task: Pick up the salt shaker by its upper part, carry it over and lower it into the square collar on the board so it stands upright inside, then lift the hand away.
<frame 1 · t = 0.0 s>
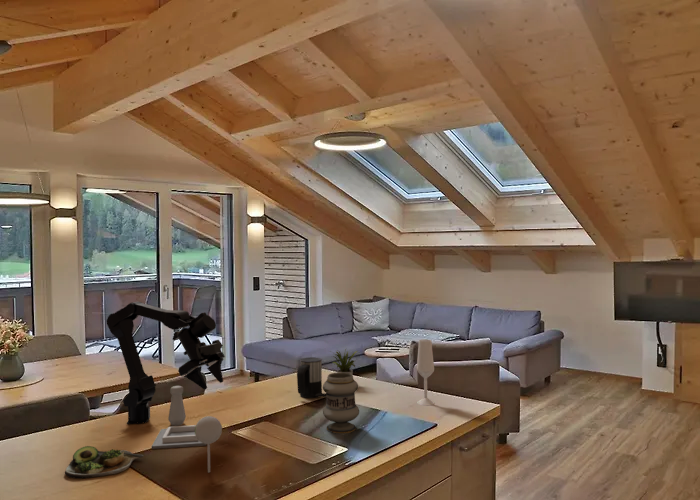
hand: (214, 385, 186), 15 cm above the kitchen island counter, tool tilted 35°, fingers open, 9 cm apart
socket board: (182, 438, 179), on the kitchen island counter
salad plate: (99, 467, 157), on the kitchen island counter
salt shaker: (177, 424, 193), on the kitchen island counter
house plant: (342, 385, 244), on the kitchen island counter
lollipop: (209, 472, 152), on the kitchen island counter
milk frother: (318, 397, 225), on the kitchen island counter
champagne flute: (425, 403, 215), on the kitchen island counter
apothecary jar: (341, 429, 186), on the kitchen island counter
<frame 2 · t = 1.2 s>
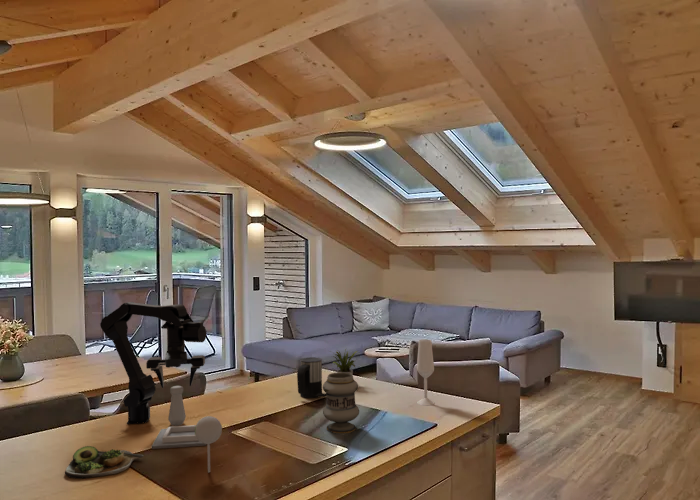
hand: (176, 386, 193), 13 cm above the kitchen island counter, tool pointing down, fingers open, 9 cm apart
nothing on the kitchen island counter moved.
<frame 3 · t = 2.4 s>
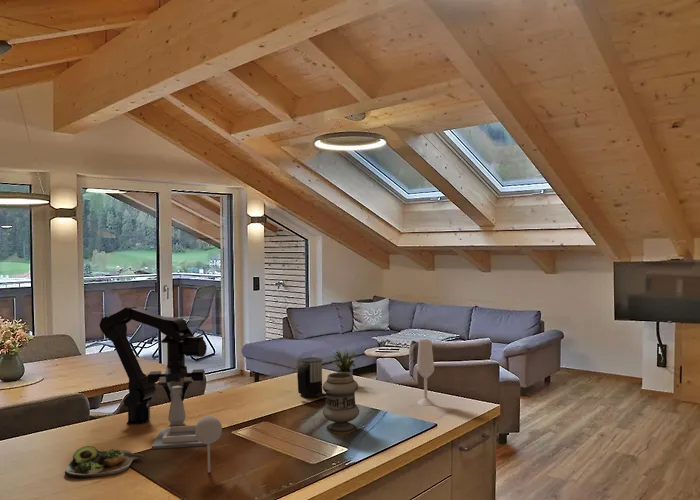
hand: (176, 401, 193), 8 cm above the kitchen island counter, tool pointing down, fingers closed on salt shaker, 4 cm apart
salt shaker: (177, 424, 193), on the kitchen island counter, touching gripper
everything else where it was.
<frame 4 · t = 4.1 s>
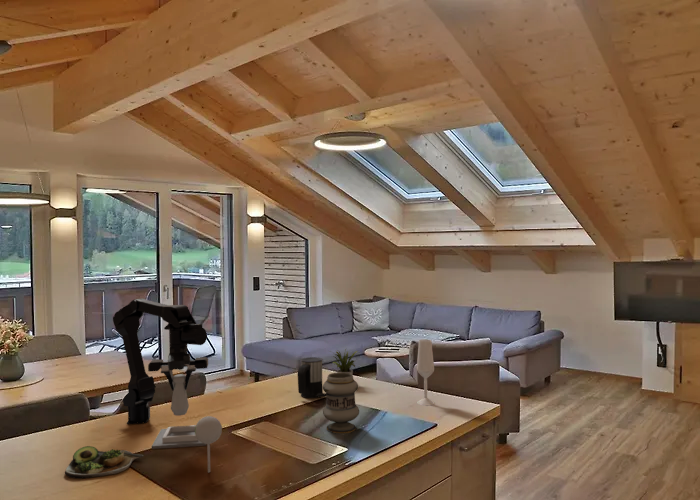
hand: (179, 389, 187), 13 cm above the kitchen island counter, tool pointing down, fingers closed on salt shaker, 4 cm apart
salt shaker: (180, 414, 187), point 5 cm above the kitchen island counter, touching gripper
everything else where it was.
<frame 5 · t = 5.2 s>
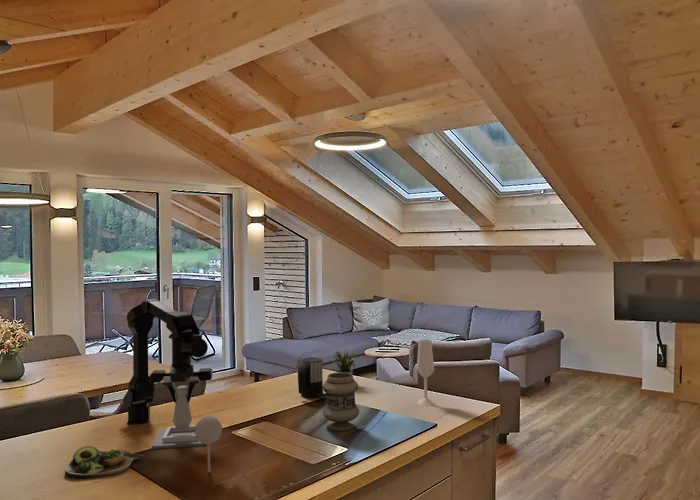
hand: (182, 402, 179), 11 cm above the kitchen island counter, tool pointing down, fingers closed on salt shaker, 4 cm apart
salt shaker: (182, 427, 179), point 3 cm above the kitchen island counter, touching gripper
everything else where it was.
when the fingers open (9 cm above the kitchen island counter, at t = 5.9 s): salt shaker stays where it is, resting on socket board.
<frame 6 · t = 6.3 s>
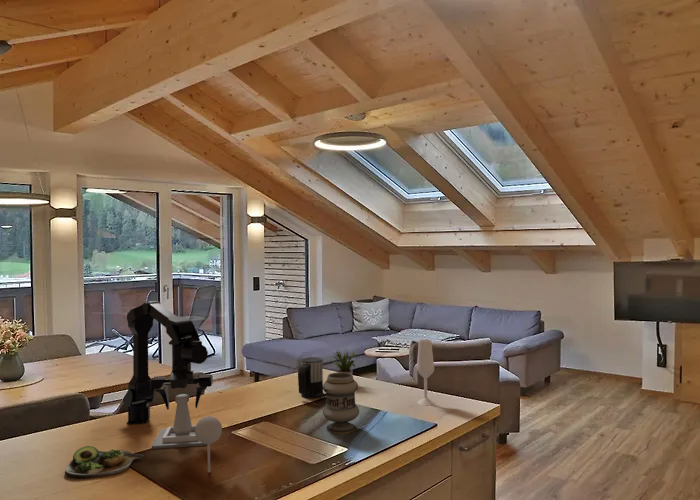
hand: (182, 408, 179), 9 cm above the kitchen island counter, tool pointing down, fingers open, 8 cm apart
salt shaker: (182, 436, 179), point 1 cm above the kitchen island counter, touching socket board
everything else where it was.
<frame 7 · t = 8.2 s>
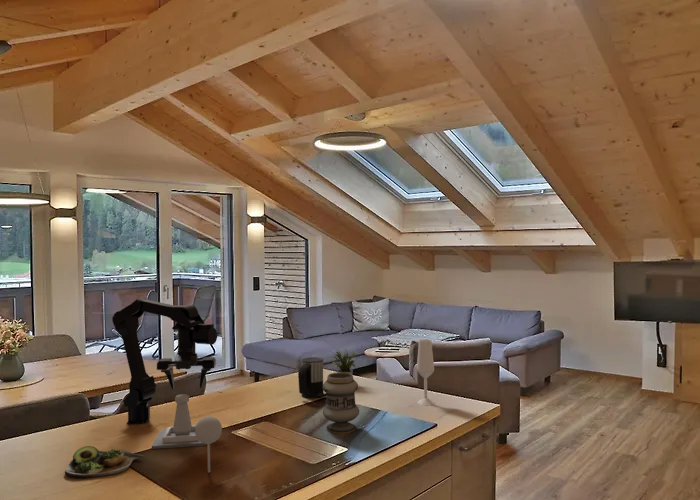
hand: (186, 388, 191), 13 cm above the kitchen island counter, tool pointing down, fingers open, 9 cm apart
nothing on the kitchen island counter moved.
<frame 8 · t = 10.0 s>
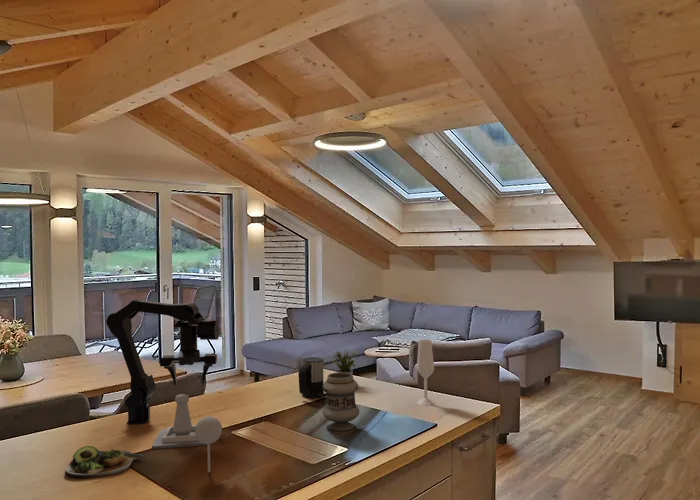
hand: (189, 384, 195), 13 cm above the kitchen island counter, tool pointing down, fingers open, 9 cm apart
nothing on the kitchen island counter moved.
at the end: salt shaker 0.1 cm off-centre on the socket board, point 0.6 cm above the socket board's base; salt shaker tilted 0°; the gripper is holding nothing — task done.
